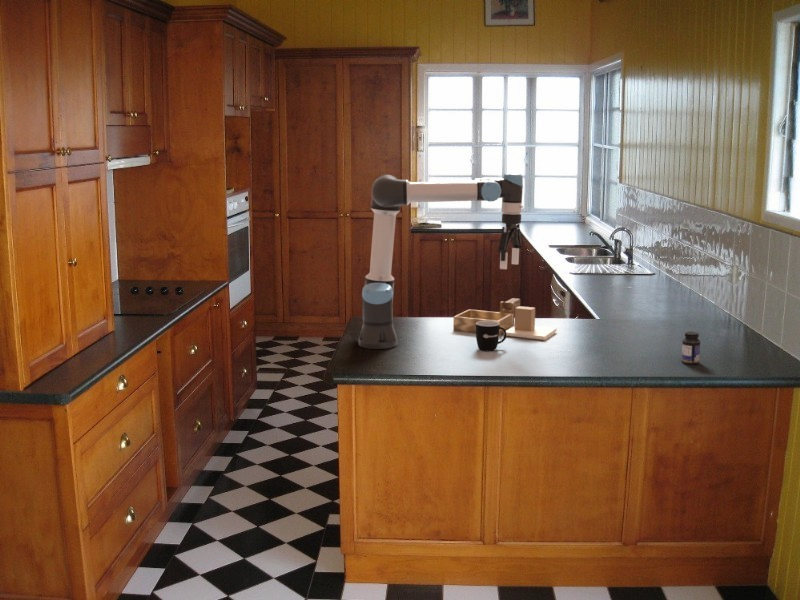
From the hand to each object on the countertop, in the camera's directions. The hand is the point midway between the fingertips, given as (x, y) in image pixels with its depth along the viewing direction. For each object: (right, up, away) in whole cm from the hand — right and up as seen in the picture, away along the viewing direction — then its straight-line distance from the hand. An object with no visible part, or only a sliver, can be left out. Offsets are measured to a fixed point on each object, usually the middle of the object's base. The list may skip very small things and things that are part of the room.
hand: (509, 266), depth 352 cm
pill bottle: (+61, -36, -34) cm, 78 cm away
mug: (-9, -32, -14) cm, 36 cm away
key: (+5, -16, +26) cm, 31 cm away
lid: (+9, -28, +8) cm, 30 cm away
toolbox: (-8, -25, +18) cm, 32 cm away
